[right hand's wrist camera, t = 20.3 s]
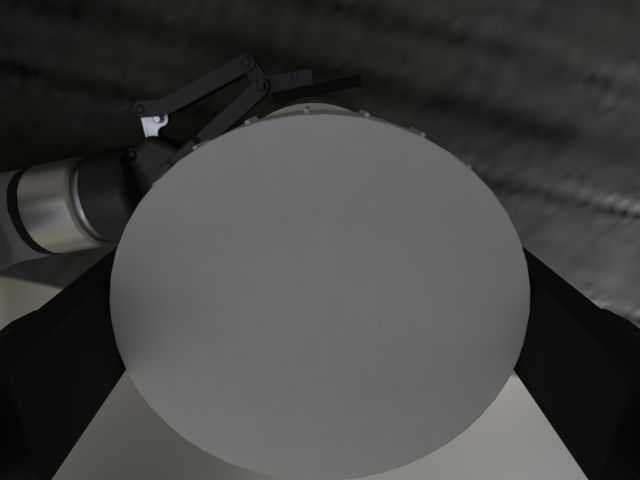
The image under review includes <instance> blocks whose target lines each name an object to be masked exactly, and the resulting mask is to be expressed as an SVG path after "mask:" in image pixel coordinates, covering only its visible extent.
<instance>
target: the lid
mask: <svg viewBox="0 0 640 480" xmlns="http://www.w3.org/2000/svg"><path fill="white" fill-rule="evenodd" d="M369 115H370V114H369V113H367V112H366V111H364V110H360V112H359V113H356V112H349V111H339V110H329V109H320V110H310V106H306V107H305V108H304V110H297V111H292V112H286V113H280V114H274V115H270V116H267V117H264V118H261V119H258V118H257V116H254V117H252V118H250V119H248V120H246V121H244V122H245V124H243V125H241V126H239V127H237V128H235V129H233V130H231V131H229V132H227V133H225V134H222V135H220V136H218V137H217V138H215V139H213V140H210V139H207V140H205V141H203V142H201V143H199V144H197V145H195V146H194V147H192V148H193V150H194V151H193V152H191V153H190V154H188V155H187V156H185V157H184V158H182V159H181V160H179V161H178V162H177V163H176V164H175V165H174V166H173V167H172V168H171V169H169V170H168V171H167V172H166V173H165V174H164V175H163V176H162V177H161V178H160V179H159V180H157V181H155V182H154V183H153V184H152V188H151V189H150V190H149V191H148V193H147V194H146V195H145V196H144V198H143V199H142V200H141V201H140V203H139V204H138V206H137V208H136V209H135V211H134V213H133V215H132V216H131V218H130V220H129V222H128V223H127V225H126V227H125V229H124V232H123V235H122V237H121V240H120V242H119V245H118V248H117V250H116V254H115V259H114V264H113V268H112V273H111V282H110V300H109V301H110V312H111V320H112V326H113V330H114V335H115V339H116V344H117V348H118V350H119V353H120V355H121V358H122V360H123V363H124V365H125V368H126V370H127V372H128V373H129V375H130V377H131V379H132V380H133V382H134V384H135V386H136V387H137V389H138V390H139V392H140V393H141V394H142V396H143V397H144V398H145V400H146V401H147V402H148V404H149V405H150V406H151V408H152V409H153V410H154V411H155V412H156V413H157V414H158V415H159V416H160V417H161V418H162V419H163V420H164V421H165V422H166V423H167V424H168V425H169V426H170V427H172V428H173V429H174V430H175V431H177V432H178V433H179V434H180V435H182V436H183V437H184V438H185V439H187V440H188V441H190V442H191V443H193V444H194V445H196V446H198V447H199V448H201V449H202V450H204V451H206V452H208V453H210V454H212V455H214V456H216V457H218V458H220V459H222V460H223V461H226V462H228V463H231V464H234V465H236V466H239V467H241V468H244V469H247V470H251V471H254V472H258V473H262V474H265V475H269V476H275V477H281V478H287V479H295V480H343V479H352V478H360V477H365V476H369V475H374V474H378V473H383V472H386V471H389V470H392V469H395V468H398V467H401V466H404V465H407V464H409V463H411V462H413V461H416V460H418V459H420V458H422V457H425V456H427V455H428V454H430V453H432V452H434V451H435V450H437V449H439V448H441V447H442V446H444V445H446V444H447V443H448V442H450V441H451V440H453V439H454V438H455V437H457V436H458V435H460V434H461V433H462V432H464V431H465V430H466V429H467V428H468V427H469V426H470V425H471V424H472V423H473V422H475V421H476V420H477V419H478V418H479V417H480V416H481V415H482V414H483V413H484V411H485V410H486V409H487V408H488V407H489V406H490V404H491V403H492V402H493V401H494V400H495V399H496V397H497V396H498V394H499V393H500V391H501V390H502V388H503V387H504V385H505V384H506V382H507V380H508V379H509V377H510V375H511V373H512V371H513V369H514V367H515V365H516V363H517V360H518V358H519V355H520V352H521V349H522V346H523V342H524V338H525V333H526V328H527V323H528V318H529V313H530V283H529V276H528V268H527V262H526V259H525V255H524V252H523V249H522V245H521V242H520V239H519V237H518V234H517V232H516V230H515V228H514V226H513V224H512V222H511V220H510V218H509V216H508V214H507V212H506V211H505V209H504V208H503V206H502V205H501V204H500V202H499V201H498V199H497V198H496V196H495V195H494V193H493V192H492V191H491V190H490V189H489V188H488V187H487V185H486V184H485V183H484V182H483V181H482V180H481V179H480V178H479V177H478V176H477V175H476V174H475V173H474V172H473V171H472V170H471V166H470V165H469V164H467V163H465V162H463V161H461V160H460V159H458V158H456V157H455V156H453V155H452V154H451V153H450V152H448V151H446V150H445V149H443V148H441V147H439V146H438V145H436V144H434V143H432V142H431V141H429V140H427V139H425V138H424V137H425V135H426V134H425V133H423V132H421V131H418V130H416V129H414V128H412V127H410V129H409V130H408V129H406V128H403V127H401V126H398V125H396V124H393V123H391V122H388V121H386V120H383V119H381V118H377V117H372V116H369ZM257 119H258V120H257Z"/></svg>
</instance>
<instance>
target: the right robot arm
mask: <svg viewBox="0 0 640 480" xmlns="http://www.w3.org/2000/svg"><path fill="white" fill-rule="evenodd" d="M117 248H118V246H117V247H116V248H115V249H113V250H112V251H111V252H110V253H108V254H107V255H106V256H105V257H103V258H102V259H101V260H100V261H98V262H97V263H96V264H95V265H93V266H92V267H91V268H90V269H88V270H87V271H86V272H85V273H83V274H82V275H81V276H80V277H78V278H77V279H76V280H75V281H73V282H72V283H71V284H70V285H68V286H67V287H66V288H65V289H63V290H62V291H61V292H60V293H58V294H57V295H56V296H55V297H53V298H52V299H51V300H50V301H48V302H47V303H46V304H45V305H43V306H42V307H41V308H40V309H38V310H35V311H33V312H30V313H28V314H26V315H24V316H22V317H20V318H18V319H16V320H14V321H12V322H11V323H9V324H8V325H7V326H6V327H4V328H3V329H2V330H0V480H51V479H52V478H53V476H54V475H55V473H56V472H57V470H58V469H59V468H60V466H61V465H62V463H63V462H64V460H65V459H66V457H67V456H68V454H69V453H70V451H71V450H72V448H73V447H74V445H75V444H76V443H77V441H78V440H79V438H80V437H81V435H82V434H83V432H84V431H85V429H86V428H87V426H88V425H89V423H90V422H91V420H92V419H93V417H94V416H95V415H96V413H97V412H98V410H99V409H100V407H101V406H102V404H103V403H104V401H105V400H106V398H107V397H108V395H109V394H110V393H111V391H112V390H113V388H114V387H115V385H116V384H117V382H118V381H119V379H120V378H121V376H122V375H123V373H124V372H125V370H126V368H125V365H124V363H123V360H122V358H121V355H120V353H119V350H118V348H117V344H116V339H115V335H114V330H113V326H112V320H111V312H110V301H109V300H110V282H111V273H112V268H113V264H114V259H115V254H116V250H117ZM522 249H523V252H524V255H525V259H526V262H527V268H528V276H529V283H530V313H529V318H528V323H527V328H526V333H525V338H524V342H523V346H522V349H521V352H520V355H519V358H518V360H517V363H516V365H515V367H514V371H515V372H516V374H517V375H518V377H519V378H520V380H521V381H522V383H523V384H524V386H525V387H526V389H527V390H528V391H529V393H530V394H531V396H532V397H533V399H534V400H535V402H536V403H537V405H538V406H539V408H540V409H541V411H542V412H543V414H544V415H545V417H546V418H547V419H548V421H549V422H550V424H551V425H552V427H553V428H554V430H555V431H556V433H557V434H558V436H559V437H560V439H561V440H562V441H563V443H564V444H565V446H566V447H567V449H568V450H569V452H570V453H571V455H572V456H573V458H574V459H575V461H576V462H577V464H578V465H579V467H580V468H581V469H582V471H583V472H584V474H585V475H586V477H587V478H588V480H640V329H639V328H638V327H637V326H635V325H634V324H633V323H631V322H630V321H629V320H627V319H625V318H623V317H621V316H619V315H617V314H615V313H613V312H611V311H609V310H607V309H600V308H599V307H598V306H596V305H595V304H594V303H593V302H591V301H590V300H589V299H588V298H586V297H585V296H584V295H583V294H581V293H580V292H579V291H578V290H576V289H575V288H574V287H573V286H571V285H570V284H569V283H568V282H566V281H565V280H564V279H563V278H561V277H560V276H559V275H558V274H556V273H555V272H554V271H553V270H551V269H550V268H549V267H548V266H546V265H545V264H544V263H543V262H541V261H540V260H539V259H538V258H536V257H535V256H534V255H533V254H531V253H530V252H529V251H528V250H526V249H525V248H524V247H523V246H522Z"/></svg>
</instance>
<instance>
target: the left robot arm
mask: <svg viewBox="0 0 640 480" xmlns="http://www.w3.org/2000/svg"><path fill="white" fill-rule="evenodd" d="M245 76H246V77H247V78H248V80H249V82H250V83H251V84H250V85H249V86H248V87H247V88H246V89H245V90H244V91H243V92H242V93H241V94H240V95H239V96H238V97H237V98H235V99H234V100H233V101H232V102H231V103H230V104H229V105H228V106H227V107H226V108H225V109H224V110H223V111H221V112H220V113H219V114H218V115H217V116H216V117H215V118H214V119H213V120H212V121H211V122H210V123H209V124H208V125H206V126H205V127H204V128H203V129H202V130H201V131H200V132H199V133H198V134H197V135H196V136H194V137H193V138H192V139H191V140H189V141H188V142H187V143H186V144H185V145H184V144H182V143H180V142H177V141H175V140H173V139H171V138H169V137H166V136H164V135H162V129H163V127H164V126H166V125H168V124H170V123H171V121H172V116H171V114H172V113H176V112H179V111H182V110H184V109H186V108H188V107H190V106H191V105H193V104H195V103H197V102H199V101H201V100H203V99H204V98H206V97H208V96H210V95H212V94H214V93H216V92H217V91H219V90H221V89H223V88H225V87H227V86H229V85H230V84H232V83H234V82H236V81H238V80H240V79H242V78H243V77H245ZM358 86H361V79H360V75H356V76H351V77H346V78H341V79H336V80H331V81H327V82H322V83H317V84H314V81H313V76H312V71H311V70H307V69H301V70H296V71H291V72H286V73H282V74H277V75H268V74H267V73H265V71H264V70H263V68H262V67H261V65H260V63H259V61H258V59H257V58H256V57H255V56H253V55H251V54H249V53H243V54H241V55H239V56H237V57H235V58H234V59H232V60H230V61H228V62H226V63H224V64H223V65H221V66H219V67H217V68H215V69H214V70H212V71H210V72H208V73H206V74H204V75H203V76H201V77H199V78H197V79H195V80H194V81H192V82H190V83H188V84H186V85H184V86H183V87H181V88H179V89H177V90H175V91H174V92H172V93H170V94H168V95H166V96H164V97H163V98H161V99H152V100H143V101H137V102H135V103H134V104H133V107H132V108H133V112H134V114H135V115H136V116H137V117H139V118H141V121H142V125H143V129H144V133H145V137H146V138H144V139H143V140H142V141H141V142H140V143H139V144H137V145H134V146H129V147H124V148H119V149H114V150H109V151H104V152H99V153H94V154H91V155H89V156H87V157H83V156H79V157H74V158H69V159H64V160H59V161H54V162H49V163H44V164H39V165H34V166H32V167H27V168H24V169H20V170H14V171H9V172H3V173H0V271H1V270H3V269H5V268H6V267H8V266H10V265H13V264H15V263H18V262H22V261H26V260H31V259H35V258H40V257H45V256H51V255H56V254H62V253H67V252H73V251H79V250H84V249H90V248H96V247H101V246H107V245H109V244H111V243H119V242H120V240H121V237H122V235H123V232H124V229H125V227H126V225H127V223H128V222H129V220H130V218H131V216H132V215H133V213H134V211H135V209H136V208H137V206H138V204H139V203H140V201H141V200H142V199H143V198H144V196H145V195H146V194H147V193H148V191H149V190H150V189H151V188H152V184H153V183H154V182H155V181H157V180H159V179H160V178H161V177H162V176H163V175H164V174H165V173H166V172H167V171H168V170H169V169H171V168H172V167H173V166H174V165H175V164H176V163H177V162H178V161H179V160H181V159H182V158H184V157H185V156H187V155H188V154H190V153H191V152H193V151H194V150H193V148H192V147H194V146H195V145H197V144H199V143H201V142H203V141H205V140H207V139H210V140H213V139H215V138H217V137H218V136H220V135H222V134H225V133H226V132H228V131H229V130H230V129H231V128H232V127H233V126H234V125H235V124H236V123H237V122H239V121H240V120H241V119H242V118H243V117H244V116H245V115H246V114H247V113H248V112H249V111H251V110H252V109H253V108H254V107H255V106H256V105H257V104H258V103H259V102H260V101H262V100H263V99H264V98H265V97H266V96H267V95H268V94H271V93H272V96H273V101H274V103H279V102H284V101H288V100H293V99H298V98H303V97H308V96H313V95H318V94H323V93H328V92H333V91H338V90H343V89H348V88H353V87H358Z"/></svg>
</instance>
